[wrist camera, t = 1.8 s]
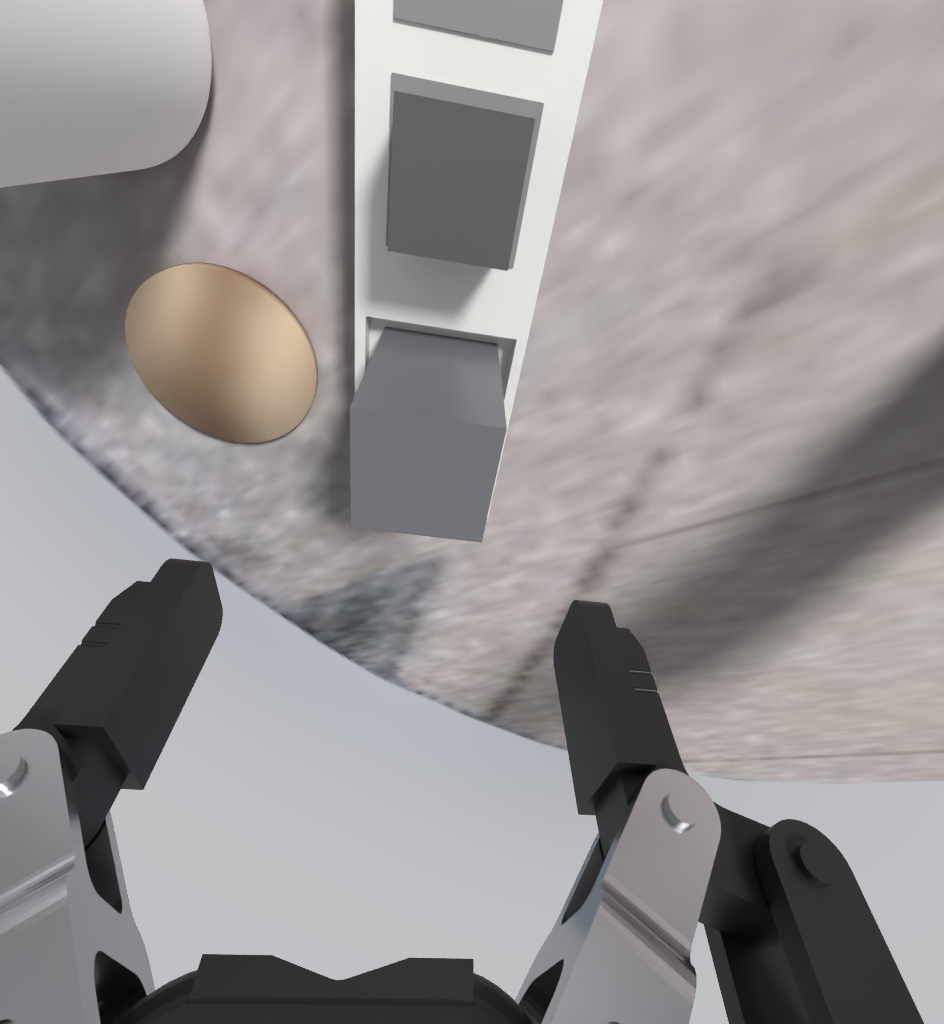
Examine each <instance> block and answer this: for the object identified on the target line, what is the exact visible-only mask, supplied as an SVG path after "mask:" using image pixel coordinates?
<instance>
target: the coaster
mask: <svg viewBox="0 0 944 1024" xmlns="http://www.w3.org/2000/svg"><path fill="white" fill-rule="evenodd" d="M125 336H126V343H127V347H128V352H129V354H130V357H131V360H132V363H133V365H134V367H135V369H136V371H137V373H138V375H139V376H140V378H141V379H142V381H143V383H144V384H145V386H146V387H147V388H148V389H149V391H150V392H151V393H152V394H153V396H154V397H155V398H156V399H157V400H158V401H159V402H160V403H161V404H162V405H163V406H164V407H165V408H166V409H167V410H169V411H170V412H171V413H172V414H173V415H175V416H176V417H177V418H179V419H180V420H182V421H183V422H185V423H186V424H188V425H190V426H191V427H193V428H195V429H197V430H199V431H201V432H203V433H205V434H208V435H211V436H213V437H216V438H220V439H223V440H227V441H233V442H241V443H258V442H265V441H269V440H273V439H276V438H278V437H281V436H283V435H285V434H287V433H288V432H290V431H291V430H293V429H294V428H295V427H296V426H297V425H298V424H299V423H300V422H301V421H302V419H303V418H304V417H305V415H306V414H307V412H308V410H309V408H310V407H311V405H312V403H313V401H314V398H315V395H316V391H317V385H318V368H317V360H316V357H315V353H314V349H313V347H312V344H311V341H310V339H309V337H308V335H307V333H306V331H305V329H304V327H303V326H302V324H301V323H300V321H299V320H298V318H297V317H296V315H295V314H294V313H293V312H292V311H291V309H290V308H289V307H288V306H287V305H286V304H285V303H284V302H283V301H282V300H281V299H280V298H279V297H278V296H277V295H276V294H275V293H273V292H272V291H271V290H270V289H268V288H267V287H266V286H264V285H263V284H261V283H260V282H258V281H256V280H255V279H253V278H251V277H249V276H247V275H245V274H243V273H241V272H239V271H236V270H233V269H231V268H228V267H224V266H220V265H215V264H209V263H185V264H181V265H176V266H173V267H170V268H168V269H165V270H163V271H161V272H159V273H156V274H155V275H153V276H152V277H150V278H148V279H147V280H146V281H145V282H144V283H143V284H142V285H141V286H139V288H138V289H137V290H136V292H135V293H134V295H133V296H132V298H131V301H130V303H129V305H128V309H127V313H126V317H125Z"/></svg>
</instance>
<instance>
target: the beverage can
mask: <svg viewBox="0 0 944 1024" xmlns="http://www.w3.org/2000/svg"><path fill="white" fill-rule="evenodd" d="M211 73H212V53H211V41H210V32H209V26H208V20H207V15H206V10H205V6H204V2H203V0H0V188H2V187H10V186H18V185H25V184H33V183H41V182H49V181H56V180H64V179H72V178H79V177H87V176H95V175H103V174H110V173H118V172H126V171H134V170H141V169H146V168H150V167H154V166H157V165H159V164H162V163H164V162H166V161H168V160H169V159H171V158H173V157H174V156H175V155H177V154H178V153H179V152H180V151H181V150H182V149H183V148H184V147H185V146H186V145H187V144H188V143H189V141H190V140H191V139H192V137H193V136H194V134H195V133H196V131H197V129H198V127H199V125H200V123H201V121H202V118H203V116H204V113H205V110H206V106H207V102H208V98H209V92H210V85H211Z"/></svg>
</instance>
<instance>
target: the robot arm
mask: <svg viewBox="0 0 944 1024" xmlns="http://www.w3.org/2000/svg"><path fill="white" fill-rule="evenodd" d="M222 615H223V610H222V604H221V600H220V596H219V592H218V588H217V585H216V580H215V576H214V572H213V568H212V566H211V564H210V563H209V562H201V561H191V560H181V559H168V560H167V561H166V562H164V564H163V565H162V566H161V568H160V569H159V571H158V572H157V573H156V575H155V576H154V578H153V579H152V581H151V582H142V581H137V582H135V583H134V584H133V585H131V586H130V587H129V588H127V589H126V590H124V591H123V592H122V593H120V594H119V595H118V596H116V597H115V598H113V599H112V600H111V602H110V603H109V605H108V606H107V607H106V609H105V610H104V611H103V613H102V614H101V615H100V617H99V618H98V619H97V621H96V625H95V626H93V627H91V629H90V630H89V631H88V633H87V634H86V636H85V637H84V638H83V640H82V644H81V645H78V646H77V648H76V649H75V650H74V652H73V653H72V654H71V656H70V657H69V658H68V660H67V661H66V663H65V664H64V665H63V666H62V668H61V669H60V670H59V672H58V673H57V674H56V676H55V677H54V678H53V680H52V681H51V683H50V684H49V685H48V687H47V688H46V689H45V691H44V692H43V693H42V695H41V696H40V697H39V699H38V700H37V702H36V703H35V704H34V706H33V707H32V708H31V709H30V711H29V712H28V714H27V715H26V716H25V717H24V719H23V720H22V721H21V722H20V723H19V724H18V726H16V727H15V728H14V729H13V730H12V731H11V732H7V733H4V734H1V735H0V1024H688V1023H689V1020H690V1015H691V1011H692V1007H693V1002H694V998H695V992H696V972H695V969H694V967H693V966H692V964H691V962H690V951H691V946H692V942H693V938H694V934H695V931H696V927H697V923H698V922H700V923H703V924H704V927H705V931H706V935H707V938H708V943H709V946H710V951H711V954H712V958H713V962H714V966H715V970H716V974H717V978H718V982H719V986H720V990H721V994H722V998H723V1002H724V1006H725V1009H726V1013H727V1017H728V1021H729V1024H924V1023H923V1021H922V1018H921V1016H920V1014H919V1012H918V1010H917V1008H916V1006H915V1003H914V1002H913V999H912V997H911V995H910V993H909V991H908V989H907V987H906V985H905V982H904V980H903V978H902V976H901V974H900V972H899V970H898V968H897V965H896V963H895V961H894V959H893V957H892V955H891V953H890V951H889V948H888V946H887V944H886V942H885V940H884V938H883V936H882V934H881V932H880V929H879V927H878V925H877V923H876V921H875V919H874V917H873V915H872V913H871V911H870V908H869V906H868V904H867V902H866V900H865V898H864V896H863V894H862V891H861V889H860V887H859V885H858V883H857V881H856V879H855V877H854V875H853V872H852V870H851V868H850V867H849V865H848V863H847V861H846V860H845V858H844V857H843V855H842V854H841V852H840V851H839V850H838V849H837V847H836V846H835V845H834V844H833V843H832V842H831V841H830V840H829V839H828V838H827V837H826V836H825V835H823V834H822V833H821V832H820V831H818V830H817V829H815V828H814V827H812V826H810V825H808V824H807V823H804V822H801V821H798V820H792V819H786V820H782V821H780V822H778V823H776V824H775V825H773V826H772V827H768V826H765V825H763V824H761V823H758V822H756V821H754V820H751V819H749V818H746V817H744V816H742V815H739V814H737V813H734V812H732V811H730V810H727V809H725V808H723V807H721V806H719V805H718V804H716V803H715V802H713V801H712V799H711V798H710V796H709V795H708V794H707V792H706V791H705V790H704V788H703V787H702V786H701V785H699V784H698V782H696V781H695V780H694V779H692V778H691V777H689V775H688V774H687V772H686V770H685V768H684V766H683V763H682V761H681V758H680V755H679V752H678V749H677V746H676V743H675V740H674V737H673V734H672V731H671V728H670V725H669V722H668V719H667V717H666V714H665V711H664V708H663V705H662V702H661V699H660V696H659V694H658V693H657V687H656V684H655V681H654V678H653V675H651V669H650V667H649V664H648V661H647V658H646V655H645V652H644V649H643V647H642V646H641V645H640V644H639V642H638V641H637V640H636V638H635V637H634V636H633V634H632V633H631V632H630V630H629V629H626V628H616V624H615V621H614V618H613V614H612V611H611V608H610V606H609V605H608V604H607V603H599V602H589V601H579V600H574V601H573V602H572V604H571V606H570V608H569V610H568V613H567V615H566V617H565V620H564V622H563V624H562V627H561V629H560V631H559V634H558V636H557V638H556V641H555V646H554V668H555V674H556V680H557V686H558V693H559V699H560V705H561V711H562V717H563V723H564V729H565V735H566V741H567V747H568V753H569V760H570V766H571V772H572V777H573V784H574V790H575V796H576V802H577V808H578V814H581V815H596V819H597V825H598V830H599V833H598V834H597V836H596V838H595V840H594V842H593V845H592V846H591V849H590V851H589V853H588V855H587V857H586V859H585V861H584V864H583V866H582V868H581V870H580V872H579V875H578V877H577V879H576V881H575V883H574V885H573V888H572V890H571V892H570V894H569V896H568V898H567V900H566V902H565V904H564V907H563V909H562V911H561V913H560V915H559V917H558V919H557V921H556V924H555V925H554V927H553V929H552V931H551V933H550V934H549V936H548V937H547V939H546V940H545V942H544V944H543V945H542V947H541V949H540V951H539V952H538V954H537V956H536V958H535V960H534V962H533V964H532V966H531V968H530V970H529V972H528V974H527V976H526V978H525V980H524V983H523V985H522V987H521V989H520V991H519V993H518V995H517V997H516V1000H515V1001H514V1000H513V999H512V998H511V997H510V996H509V995H508V994H507V993H505V992H504V991H503V990H502V989H501V988H499V987H498V986H497V985H495V984H494V983H492V982H490V981H489V980H487V979H485V978H484V977H482V976H479V975H477V974H475V973H473V959H446V958H408V959H405V960H402V961H399V962H396V963H393V964H390V965H387V966H384V967H381V968H378V969H375V970H372V971H369V972H366V973H363V974H360V975H357V976H354V977H351V978H348V979H345V980H333V979H330V978H328V977H325V976H323V975H320V974H317V973H315V972H312V971H310V970H307V969H305V968H302V967H300V966H297V965H295V964H292V963H290V962H287V961H285V960H282V959H280V958H277V957H275V956H272V955H218V954H217V955H215V954H203V955H202V958H201V962H200V965H199V968H198V970H196V971H193V972H190V973H187V974H185V975H183V976H181V977H179V978H177V979H175V980H173V981H170V982H168V983H167V984H165V985H163V986H162V987H160V988H158V989H157V990H155V987H154V983H153V978H152V973H151V969H150V965H149V960H148V956H147V953H146V949H145V946H144V943H143V940H142V937H141V935H140V932H139V930H138V928H137V926H136V924H135V922H134V919H133V916H132V912H131V908H130V904H129V899H128V895H127V890H126V885H125V880H124V876H123V870H122V865H121V861H120V856H119V851H118V846H117V841H116V837H115V832H114V827H113V822H112V817H111V813H110V811H109V810H110V808H111V806H112V804H113V802H114V801H115V799H116V797H117V795H118V793H119V791H120V789H136V790H143V789H144V787H145V785H146V783H147V780H148V779H149V777H150V774H151V772H152V770H153V768H154V766H155V764H156V762H157V760H158V758H159V756H160V754H161V752H162V750H163V747H164V746H165V743H166V741H167V739H168V737H169V735H170V733H171V731H172V729H173V727H174V725H175V723H176V721H177V719H178V717H179V715H180V712H181V710H182V708H183V706H184V704H185V702H186V700H187V698H188V696H189V694H190V692H191V690H192V687H193V686H194V683H195V681H196V679H197V677H198V675H199V673H200V671H201V669H202V667H203V665H204V663H205V661H206V659H207V657H208V655H209V653H210V650H211V648H212V646H213V644H214V642H215V640H216V638H217V636H218V634H219V631H220V627H221V623H222Z"/></svg>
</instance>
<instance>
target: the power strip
mask: <svg viewBox="0 0 944 1024" xmlns="http://www.w3.org/2000/svg"><path fill="white" fill-rule="evenodd" d="M602 3H603V0H355V394H356V392H357V389H358V387H359V385H360V383H361V380H362V378H363V376H364V373H365V371H366V369H367V367H368V364H369V362H370V360H371V358H372V355H373V353H374V351H375V349H376V346H377V344H378V342H379V339H380V337H381V335H382V333H383V330H384V328H385V326H386V327H393V328H399V329H406V330H412V331H419V332H425V333H432V334H438V335H445V336H451V337H458V338H464V339H471V340H477V341H484V342H490V343H497V344H498V353H499V362H500V371H501V380H502V389H503V398H504V408H505V417H506V426H507V430H508V425H509V421H510V416H511V412H512V407H513V403H514V398H515V394H516V389H517V385H518V380H519V376H520V371H521V367H522V362H523V358H524V353H525V349H526V344H527V340H528V335H529V331H530V326H531V322H532V317H533V313H534V308H535V304H536V299H537V295H538V290H539V286H540V282H541V277H542V273H543V268H544V264H545V259H546V255H547V250H548V246H549V241H550V237H551V232H552V228H553V223H554V219H555V214H556V210H557V205H558V201H559V196H560V192H561V187H562V183H563V178H564V174H565V169H566V165H567V160H568V156H569V151H570V147H571V142H572V138H573V133H574V129H575V124H576V120H577V115H578V111H579V106H580V102H581V98H582V93H583V89H584V84H585V80H586V75H587V71H588V66H589V62H590V57H591V53H592V48H593V44H594V39H595V35H596V30H597V26H598V21H599V17H600V12H601V8H602ZM507 430H506V434H507ZM506 434H505V439H506ZM505 439H504V443H505ZM504 443H503V448H504ZM503 448H502V452H503ZM502 452H501V457H502ZM501 457H500V461H501ZM500 461H499V466H500ZM499 466H498V470H499ZM498 470H497V474H498ZM496 479H497V475H496ZM496 479H495V483H496ZM494 488H495V484H494ZM494 488H493V492H494ZM492 497H493V493H492ZM492 497H491V501H492ZM490 506H491V502H490ZM489 510H490V507H489ZM488 515H489V511H488ZM487 519H488V516H487Z"/></svg>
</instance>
